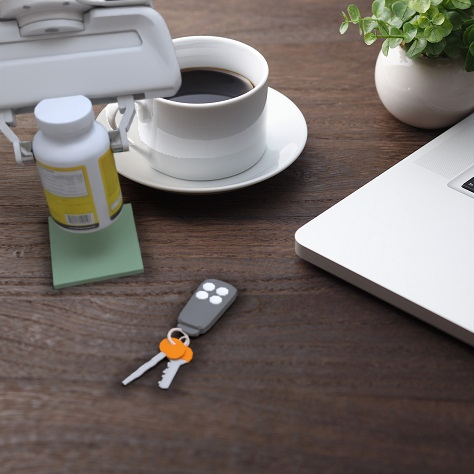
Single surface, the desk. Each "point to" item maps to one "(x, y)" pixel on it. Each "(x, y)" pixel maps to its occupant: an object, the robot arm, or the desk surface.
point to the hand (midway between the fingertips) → (75, 157)
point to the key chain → (191, 327)
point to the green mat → (95, 252)
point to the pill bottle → (76, 165)
